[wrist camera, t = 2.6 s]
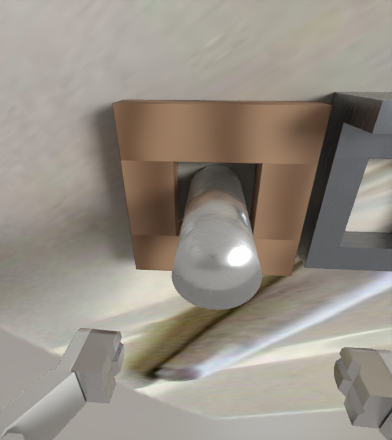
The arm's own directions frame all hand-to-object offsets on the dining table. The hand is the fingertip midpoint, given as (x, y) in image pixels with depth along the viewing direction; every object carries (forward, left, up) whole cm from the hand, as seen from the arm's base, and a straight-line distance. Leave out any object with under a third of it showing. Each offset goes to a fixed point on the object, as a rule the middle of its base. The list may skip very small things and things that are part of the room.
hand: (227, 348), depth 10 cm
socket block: (0, 0, -15) cm, 15 cm away
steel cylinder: (0, 0, -15) cm, 15 cm away
